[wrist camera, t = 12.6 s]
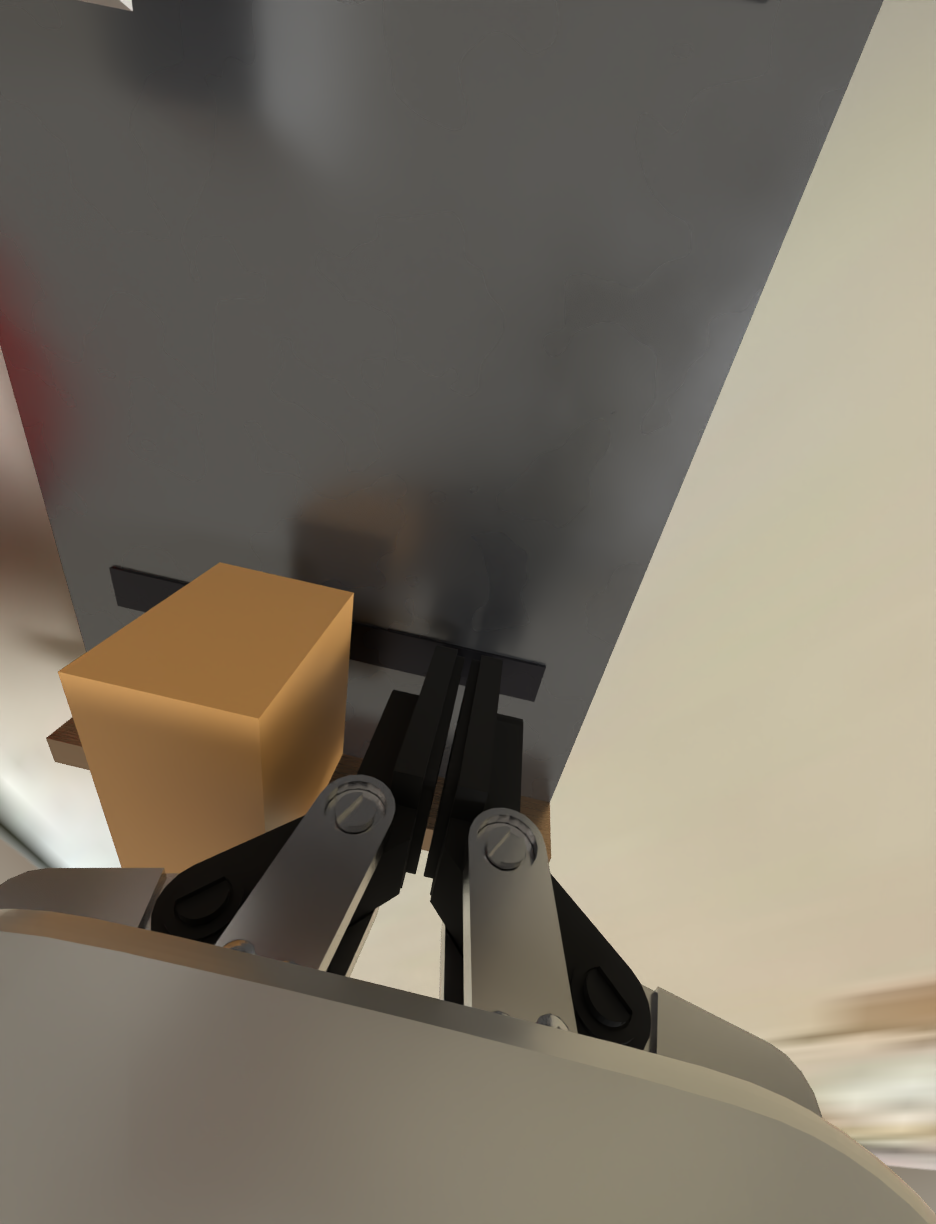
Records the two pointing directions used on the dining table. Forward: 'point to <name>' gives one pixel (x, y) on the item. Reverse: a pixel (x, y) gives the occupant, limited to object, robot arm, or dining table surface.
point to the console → (395, 306)
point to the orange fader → (214, 713)
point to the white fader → (113, 3)
